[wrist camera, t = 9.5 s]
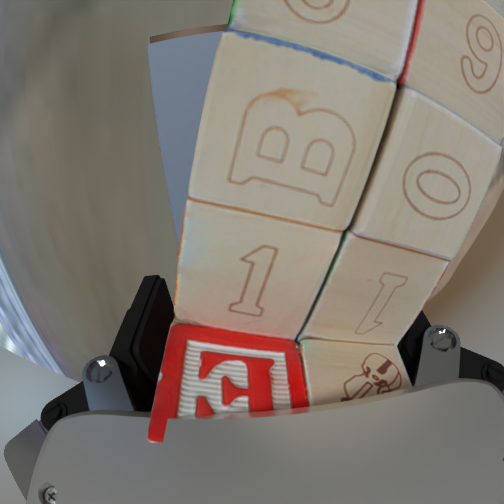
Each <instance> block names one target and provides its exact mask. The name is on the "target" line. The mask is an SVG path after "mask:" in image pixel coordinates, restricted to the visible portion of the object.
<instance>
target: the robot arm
mask: <svg viewBox="0 0 504 504" xmlns="http://www.w3.org/2000/svg"><path fill="white" fill-rule="evenodd" d="M174 316H175V313H174V306H173V303H172V300H171V297H170V294H169V291H168V288H167V285H166V282H165V279H164V278H160V276H159V275H152V276H145V277H144V278H143V281H142V283H141V285H140V287H139V290H138V292H137V294H136V296H135V299H134V301H133V303H132V306H131V308H130V309H129V310H128V311H127V313H126V315H125V317H124V320H123V322H122V324H121V327H120V329H119V332H118V334H117V336H116V339H115V341H114V344H113V346H112V349H111V352H110V354H109V356H107V355H102V356H98V357H95V358H94V359H92V360H90V361H89V362H88V363H87V364H86V366H85V367H84V370H83V373H82V376H83V381H82V382H81V383H79V384H77V385H76V386H75V387H73V388H71V389H70V390H68V391H66V392H65V393H63V394H62V395H60V396H58V397H57V398H55V399H53V400H52V401H50V402H49V403H48V404H46V406H45V407H44V408H43V410H42V413H41V420H40V421H38V420H37V419H36V420H35V421H33V422H32V423H31V424H30V425H29V426H27V427H26V428H25V429H24V430H22V431H21V432H20V433H19V434H18V435H16V436H15V437H14V438H13V439H12V440H10V441H9V442H8V443H7V445H6V446H5V449H4V457H5V460H6V462H7V464H8V467H9V469H10V471H11V473H12V475H13V477H14V479H15V481H16V483H17V485H18V486H19V488H20V490H21V492H22V494H23V496H24V497H25V499H26V501H27V502H26V504H504V367H503V366H502V365H501V364H500V363H498V362H496V361H494V360H491V359H489V358H487V357H484V356H482V355H479V354H477V353H474V352H472V351H470V350H467V349H465V348H462V347H460V338H459V336H458V334H457V333H456V332H455V331H454V330H453V329H451V328H450V327H448V326H444V325H433V326H431V325H430V323H429V321H428V320H427V318H426V316H425V315H424V313H423V311H422V310H421V312H420V313H419V315H418V316H417V318H416V319H415V321H414V322H413V324H412V325H411V327H410V328H409V329H408V331H407V332H406V334H405V335H404V337H403V338H402V339H401V340H400V342H399V343H398V345H397V348H398V350H399V353H400V355H401V358H402V360H403V363H404V365H405V368H406V371H407V373H408V376H409V379H410V381H411V384H412V386H413V387H410V388H406V389H402V390H398V391H393V392H389V393H384V394H379V395H375V396H370V397H365V398H360V399H355V400H349V401H344V402H338V403H331V404H325V405H318V406H310V407H302V408H294V409H284V410H273V411H260V412H243V413H216V414H214V415H207V416H196V415H184V416H177V417H174V418H169V419H168V420H167V425H166V430H165V435H164V440H163V442H149V441H148V440H147V434H148V429H149V423H150V418H151V412H150V411H151V410H152V407H153V402H154V397H155V392H156V387H157V382H158V377H159V373H160V369H161V365H162V361H163V357H164V352H165V346H166V342H167V338H168V334H169V330H170V325H171V323H172V322H173V319H174Z"/></svg>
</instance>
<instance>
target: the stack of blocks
mask: <svg viewBox="0 0 504 504" xmlns="http://www.w3.org/2000/svg"><path fill="white" fill-rule="evenodd" d="M503 138H504V18H503V17H502V16H501V15H500V14H499V13H498V12H496V11H495V10H494V9H493V8H492V7H491V6H490V5H488V4H487V3H486V2H485V1H484V0H233V4H232V9H231V13H230V17H229V22H228V26H227V28H226V30H225V31H224V32H223V33H222V34H221V37H220V40H219V43H218V46H217V50H216V53H215V57H214V61H213V66H212V70H211V74H210V78H209V83H208V87H207V92H206V96H205V101H204V106H203V111H202V115H201V120H200V125H199V130H198V135H197V141H196V146H195V151H194V157H193V162H192V168H191V174H190V181H189V188H188V196H187V201H186V205H185V209H184V214H183V218H182V230H181V235H180V243H179V252H178V262H177V275H176V286H175V298H174V313H175V316H174V319H173V322H172V323H171V325H170V330H169V334H168V338H167V342H166V346H165V352H164V357H163V361H162V365H161V369H160V373H159V377H158V382H157V387H156V392H155V397H154V402H153V407H152V412H151V418H150V423H149V429H148V434H147V440H148V441H149V442H163V440H164V435H165V430H166V425H167V420H168V419H169V418H174V417H177V416H184V415H196V416H207V415H214V414H216V413H243V412H260V411H273V410H284V409H294V408H302V407H310V406H318V405H325V404H331V403H338V402H344V401H349V400H355V399H360V398H365V397H370V396H375V395H379V394H384V393H389V392H393V391H398V390H402V389H406V388H410V387H413V386H412V384H411V381H410V379H409V376H408V373H407V371H406V368H405V365H404V363H403V360H402V358H401V355H400V353H399V350H398V348H397V345H398V343H399V342H400V340H401V339H402V338H403V337H404V335H405V334H406V332H407V331H408V329H409V328H410V327H411V325H412V324H413V322H414V321H415V319H416V318H417V316H418V315H419V313H420V312H421V310H422V309H423V307H424V306H425V304H426V302H427V301H428V299H429V298H430V296H431V294H432V293H433V291H434V290H435V288H436V286H437V285H438V283H439V281H440V279H441V278H442V276H443V274H444V272H445V271H446V269H447V267H448V265H449V262H450V261H451V260H452V259H454V258H455V256H456V255H457V253H458V251H459V249H460V247H461V246H462V244H463V242H464V240H465V238H466V236H467V234H468V232H469V230H470V228H471V226H472V224H473V221H474V219H475V217H476V215H477V213H478V211H479V208H480V206H481V204H482V202H483V199H484V197H485V195H486V192H487V190H488V188H489V185H490V183H491V180H492V178H493V175H494V172H495V170H496V167H497V164H498V162H499V159H500V155H501V150H502V146H501V142H502V140H503Z"/></svg>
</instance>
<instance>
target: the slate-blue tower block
mask: <svg viewBox="0 0 504 504" xmlns="http://www.w3.org/2000/svg"><path fill="white" fill-rule="evenodd" d="M223 32H224V31H219V32H211V33H204V34H197V35H191V36H185V37H179V38H174V39H169V40H164V41H159V42H155V43H151V44H148V55H149V65H150V75H151V84H152V92H153V100H154V108H155V116H156V123H157V130H158V137H159V143H160V149H161V156H162V162H163V168H164V174H165V179H166V185H167V190H168V196H169V201H170V206H171V211H172V216H173V221H174V226H175V231H176V236H177V240H178V245H179V243H180V235H181V230H182V218H183V214H184V209H185V205H186V201H187V196H188V188H189V181H190V174H191V168H192V162H193V157H194V151H195V146H196V141H197V135H198V130H199V125H200V120H201V115H202V111H203V106H204V101H205V96H206V92H207V87H208V83H209V78H210V74H211V70H212V66H213V61H214V57H215V53H216V50H217V46H218V43H219V40H220V37H221V34H222V33H223Z"/></svg>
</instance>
